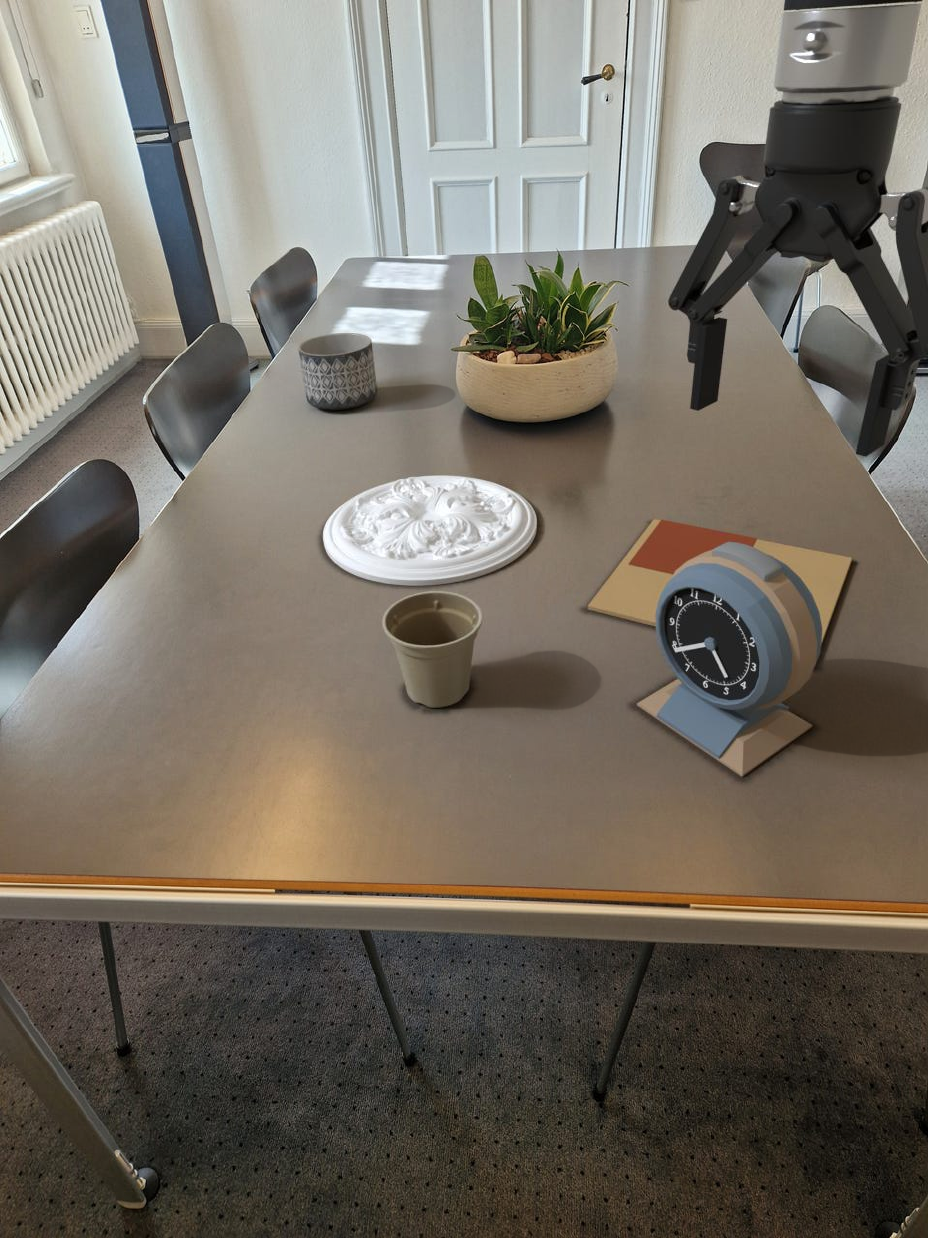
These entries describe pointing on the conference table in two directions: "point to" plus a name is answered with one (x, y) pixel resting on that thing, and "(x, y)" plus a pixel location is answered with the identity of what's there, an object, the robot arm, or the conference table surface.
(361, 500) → the ceiling medallion
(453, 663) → the flower pot
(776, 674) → the alarm clock
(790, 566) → the mat
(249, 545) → the conference table surface
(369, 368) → the planter
